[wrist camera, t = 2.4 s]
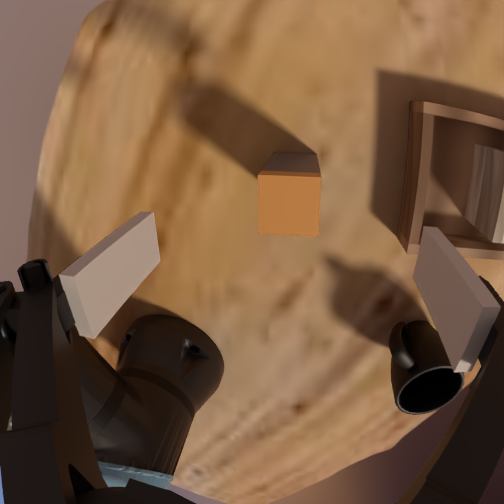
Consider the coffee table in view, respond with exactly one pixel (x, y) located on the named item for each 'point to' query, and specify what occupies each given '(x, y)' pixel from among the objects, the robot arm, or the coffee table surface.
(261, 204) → the connector
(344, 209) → the coffee table surface
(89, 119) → the coffee table surface
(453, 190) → the box
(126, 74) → the coffee table surface
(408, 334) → the mug
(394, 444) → the coffee table surface
